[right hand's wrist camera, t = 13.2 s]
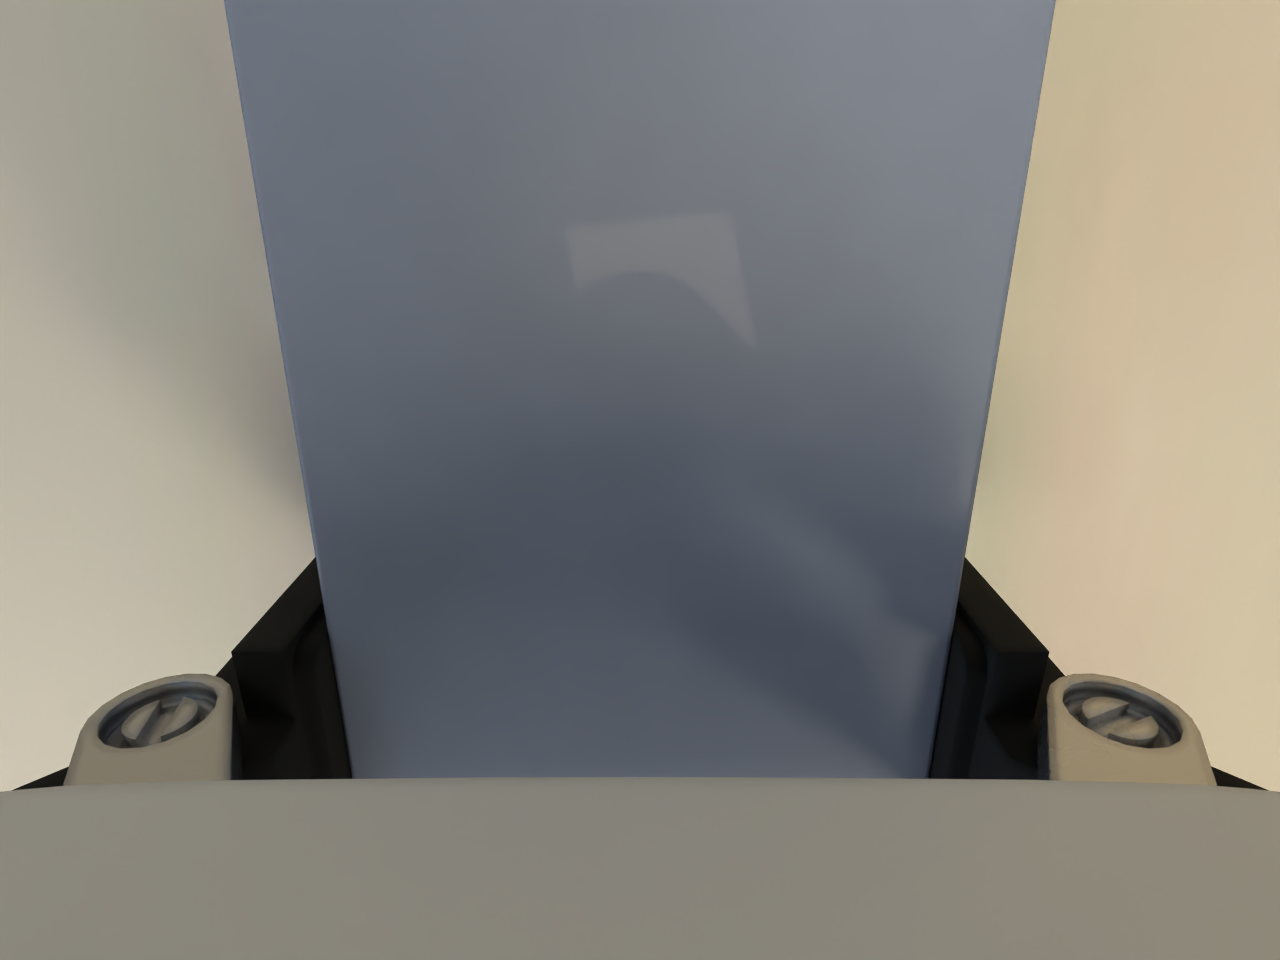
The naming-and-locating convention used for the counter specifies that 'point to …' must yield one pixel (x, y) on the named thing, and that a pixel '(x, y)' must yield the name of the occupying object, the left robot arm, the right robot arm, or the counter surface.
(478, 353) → the blue-grey slab
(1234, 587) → the counter surface
